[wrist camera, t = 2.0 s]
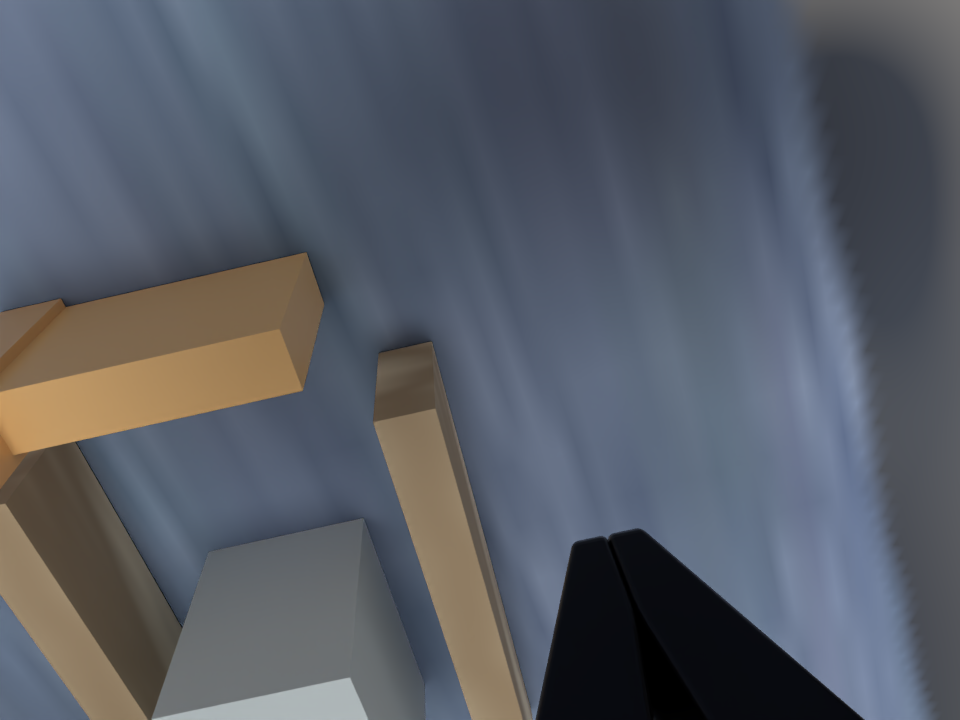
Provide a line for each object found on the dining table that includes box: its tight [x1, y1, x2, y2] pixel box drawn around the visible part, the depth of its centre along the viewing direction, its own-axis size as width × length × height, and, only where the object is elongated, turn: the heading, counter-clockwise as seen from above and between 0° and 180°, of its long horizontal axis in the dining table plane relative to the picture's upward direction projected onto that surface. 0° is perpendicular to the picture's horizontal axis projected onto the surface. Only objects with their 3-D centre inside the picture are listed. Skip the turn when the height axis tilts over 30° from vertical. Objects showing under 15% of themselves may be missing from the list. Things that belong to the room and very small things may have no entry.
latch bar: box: [0, 252, 324, 489], centre depth 17 cm, size 8×2×6 cm, turn 102°
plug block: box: [152, 518, 425, 720], centre depth 23 cm, size 5×8×6 cm, turn 12°
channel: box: [0, 341, 533, 720], centre depth 23 cm, size 12×16×4 cm
